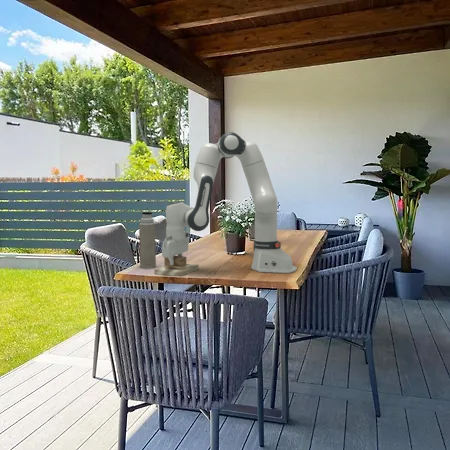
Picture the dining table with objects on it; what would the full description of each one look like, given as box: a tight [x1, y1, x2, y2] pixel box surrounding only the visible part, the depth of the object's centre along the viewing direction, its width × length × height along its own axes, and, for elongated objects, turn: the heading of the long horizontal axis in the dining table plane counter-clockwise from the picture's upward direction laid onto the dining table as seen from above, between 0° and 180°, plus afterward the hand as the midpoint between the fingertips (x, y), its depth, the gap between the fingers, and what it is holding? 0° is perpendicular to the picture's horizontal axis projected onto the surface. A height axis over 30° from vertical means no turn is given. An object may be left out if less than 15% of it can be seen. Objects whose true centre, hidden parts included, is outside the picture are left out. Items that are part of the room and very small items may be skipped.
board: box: [154, 263, 200, 277], centre depth 219 cm, size 14×19×2 cm
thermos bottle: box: [138, 211, 157, 269], centre depth 229 cm, size 8×8×28 cm
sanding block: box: [163, 255, 187, 269], centre depth 218 cm, size 9×6×5 cm, turn 68°
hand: (175, 263), depth 218 cm, fingers closed on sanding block, 5 cm apart
